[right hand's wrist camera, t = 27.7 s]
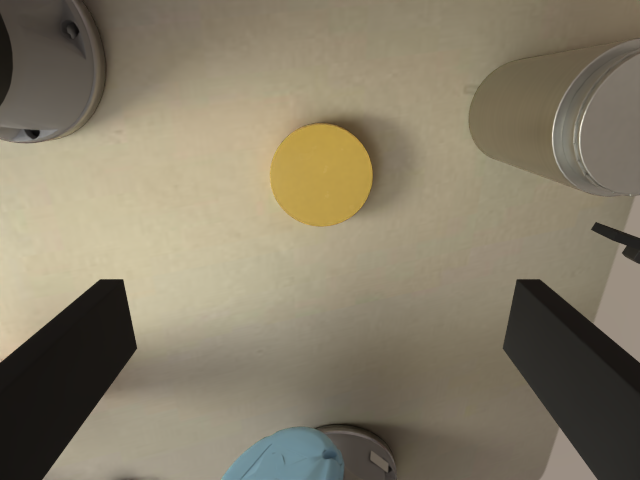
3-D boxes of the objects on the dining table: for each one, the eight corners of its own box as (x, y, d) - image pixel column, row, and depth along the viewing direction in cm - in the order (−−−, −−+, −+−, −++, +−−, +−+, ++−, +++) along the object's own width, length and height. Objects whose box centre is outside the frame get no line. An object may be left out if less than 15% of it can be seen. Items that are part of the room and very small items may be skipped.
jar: (456, 85, 35) (554, 77, 20) (556, 41, 33) (737, -1, 19) (482, 176, 38) (584, 226, 23) (575, 138, 36) (744, 167, 22)
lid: (390, 170, 37) (394, 174, 36) (324, 238, 40) (324, 245, 38) (317, 100, 35) (317, 100, 33) (252, 177, 38) (248, 181, 36)
